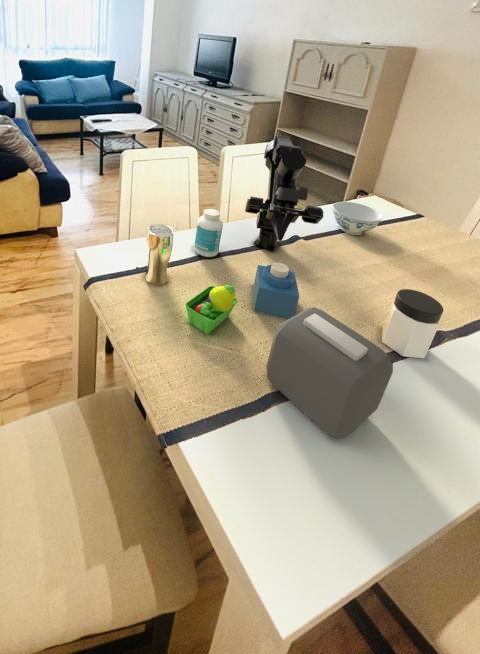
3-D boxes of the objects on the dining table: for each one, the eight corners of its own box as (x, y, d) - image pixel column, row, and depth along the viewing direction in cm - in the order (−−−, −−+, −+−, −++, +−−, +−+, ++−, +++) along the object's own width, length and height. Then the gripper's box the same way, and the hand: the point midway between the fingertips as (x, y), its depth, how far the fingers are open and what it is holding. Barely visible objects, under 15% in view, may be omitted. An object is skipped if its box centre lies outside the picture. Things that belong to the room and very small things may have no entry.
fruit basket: (208, 300, 97) (215, 262, 93) (240, 319, 91) (248, 280, 87) (181, 322, 89) (186, 282, 85) (214, 344, 84) (221, 302, 79)
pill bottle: (218, 260, 114) (225, 219, 109) (193, 256, 116) (199, 216, 111) (217, 247, 121) (224, 208, 116) (193, 243, 122) (199, 205, 117)
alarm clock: (372, 420, 69) (400, 354, 63) (337, 453, 63) (364, 383, 57) (292, 356, 82) (309, 296, 76) (257, 379, 76) (272, 316, 70)
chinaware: (385, 242, 129) (392, 222, 126) (341, 240, 129) (347, 219, 126) (360, 221, 143) (365, 202, 140) (319, 219, 143) (325, 200, 140)
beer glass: (172, 275, 106) (177, 227, 101) (163, 289, 100) (169, 239, 95) (148, 268, 109) (152, 221, 103) (139, 281, 103) (143, 232, 97)
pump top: (269, 267, 97) (271, 261, 96) (286, 271, 96) (288, 264, 95) (270, 277, 93) (272, 269, 92) (288, 280, 92) (289, 273, 91)
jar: (434, 352, 84) (454, 309, 80) (413, 364, 81) (432, 319, 77) (392, 325, 92) (409, 284, 87) (371, 335, 88) (387, 292, 84)
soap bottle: (253, 286, 103) (259, 258, 100) (288, 294, 101) (296, 265, 98) (253, 310, 94) (260, 280, 91) (293, 319, 92) (301, 289, 89)
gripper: (253, 168, 101) (246, 224, 95) (331, 179, 96) (328, 238, 90) (248, 185, 111) (241, 237, 105) (318, 196, 106) (315, 250, 100)
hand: (279, 240), depth 100 cm, fingers closed
